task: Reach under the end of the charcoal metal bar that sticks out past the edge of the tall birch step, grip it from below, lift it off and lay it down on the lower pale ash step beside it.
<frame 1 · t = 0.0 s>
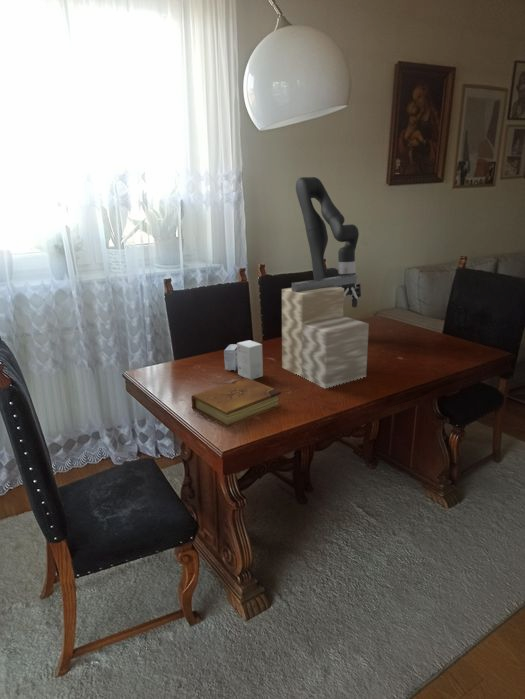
hand: (347, 308, 223), 17 cm above the table, tool pointing down, fingers open, 8 cm apart
bar: (325, 286, 196), point 32 cm above the table, touching stand
medicine box: (232, 367, 204), on the table
stand: (322, 372, 197), on the table
diary: (236, 408, 168), on the table
small box: (250, 376, 195), on the table
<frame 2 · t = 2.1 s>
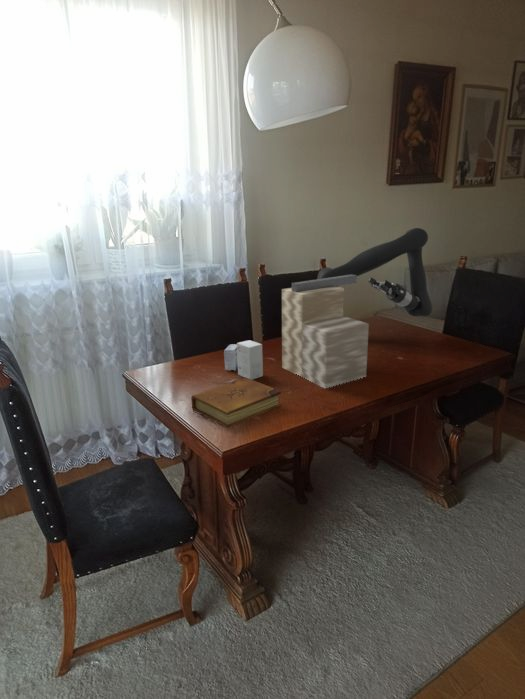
hand: (376, 280, 211), 31 cm above the table, tool pointing upward, fingers open, 8 cm apart
nothing on the table moved.
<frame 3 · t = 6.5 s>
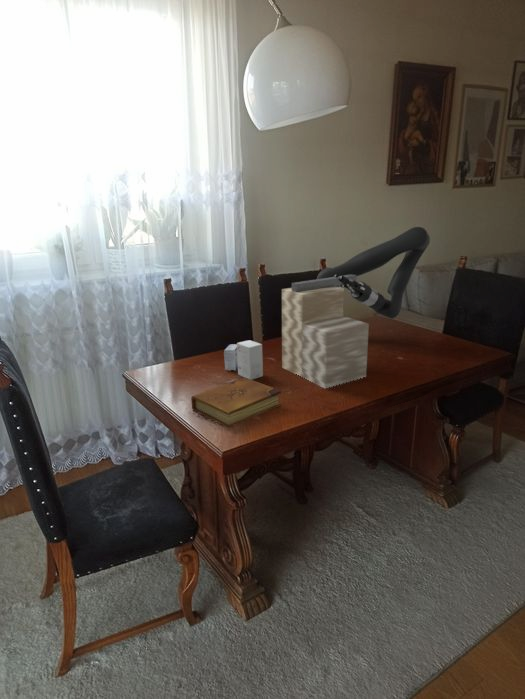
hand: (338, 277, 198), 35 cm above the table, tool pointing upward, fingers closed on bar, 3 cm apart
bar: (325, 286, 196), point 32 cm above the table, touching gripper, stand
everything else where it was.
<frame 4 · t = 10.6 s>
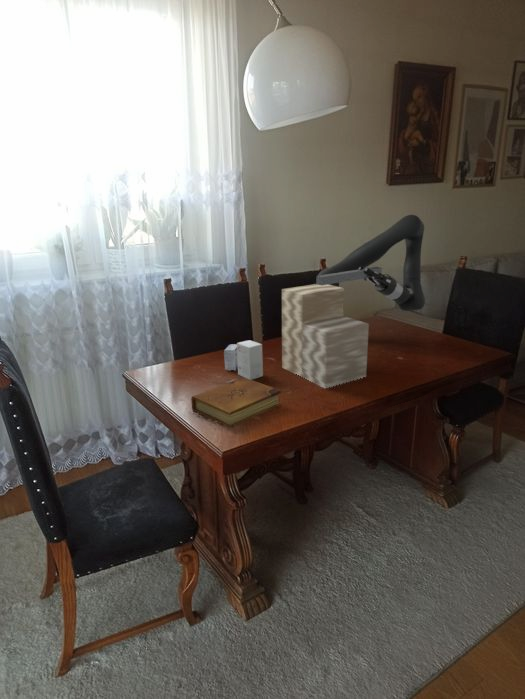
hand: (363, 269, 191), 39 cm above the table, tool pointing upward, fingers closed on bar, 3 cm apart
bar: (349, 279, 189), point 36 cm above the table, touching gripper
everything else where it was.
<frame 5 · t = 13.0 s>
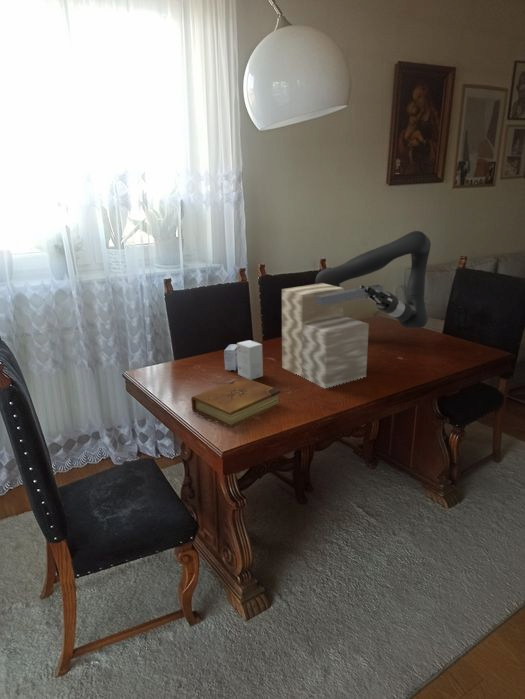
hand: (363, 288, 187), 33 cm above the table, tool pointing upward, fingers closed on bar, 3 cm apart
bar: (350, 298, 185), point 30 cm above the table, touching gripper
everything else where it was.
when the fingers open (26 cm above the table, at t = 14.9 s): bar drops 2 cm, resting on stand.
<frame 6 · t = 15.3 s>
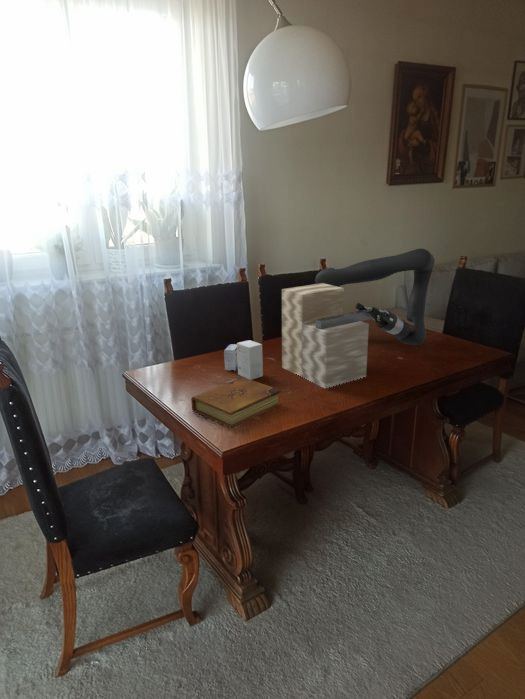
hand: (364, 307, 190), 26 cm above the table, tool pointing upward, fingers open, 7 cm apart
bar: (349, 321, 188), point 21 cm above the table, touching stand
everything else where it was.
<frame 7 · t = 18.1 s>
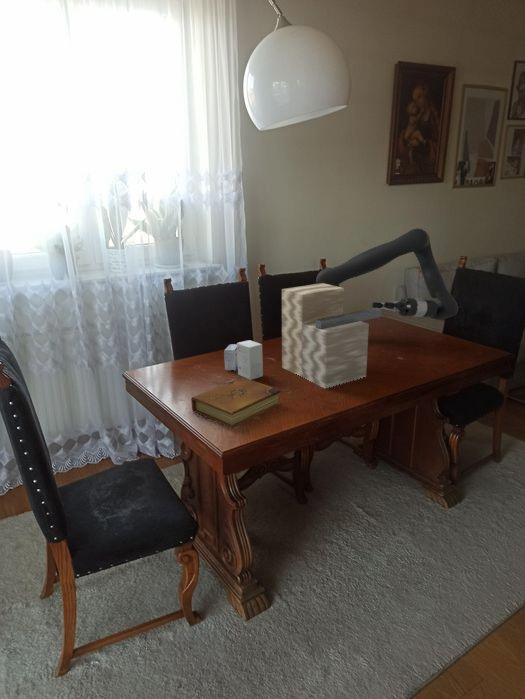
hand: (378, 304, 199), 24 cm above the table, tool horizontal, fingers open, 8 cm apart
nothing on the table moved.
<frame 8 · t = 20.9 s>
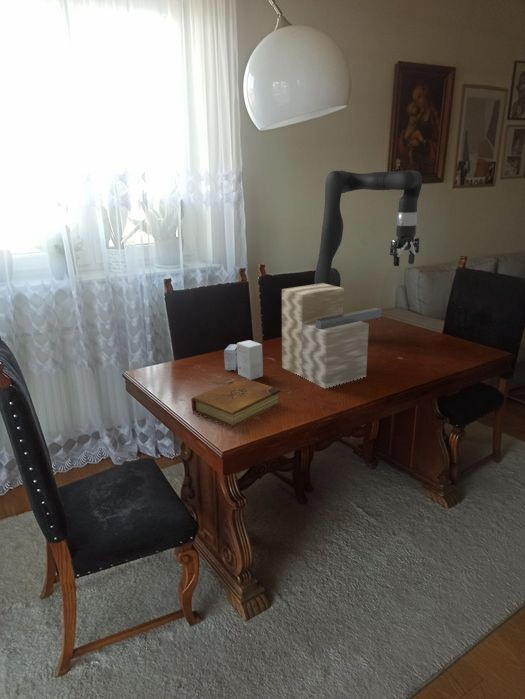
hand: (403, 265, 205), 38 cm above the table, tool pointing down, fingers open, 8 cm apart
nothing on the table moved.
at the end: bar inside the target area on the stand (0.1 cm from its centre), point 21.0 cm above the stand's base; bar tilted 0°; the gripper is holding nothing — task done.
